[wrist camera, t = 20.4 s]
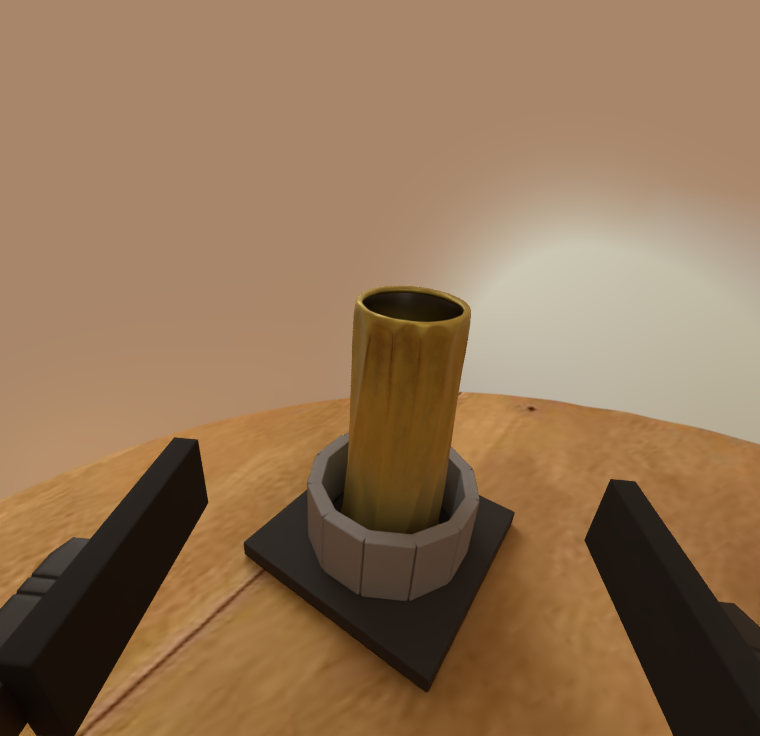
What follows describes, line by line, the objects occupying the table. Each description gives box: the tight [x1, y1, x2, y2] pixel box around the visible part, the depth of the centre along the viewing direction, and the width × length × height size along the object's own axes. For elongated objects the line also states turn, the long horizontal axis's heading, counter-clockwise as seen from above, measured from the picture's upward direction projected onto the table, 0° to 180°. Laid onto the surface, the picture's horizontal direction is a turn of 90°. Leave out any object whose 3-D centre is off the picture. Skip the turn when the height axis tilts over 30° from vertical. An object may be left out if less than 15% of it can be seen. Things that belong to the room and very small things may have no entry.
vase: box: [340, 286, 471, 534], centre depth 22 cm, size 6×6×14 cm
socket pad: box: [244, 433, 514, 692], centre depth 25 cm, size 12×12×5 cm
